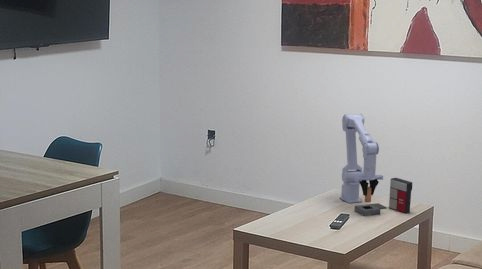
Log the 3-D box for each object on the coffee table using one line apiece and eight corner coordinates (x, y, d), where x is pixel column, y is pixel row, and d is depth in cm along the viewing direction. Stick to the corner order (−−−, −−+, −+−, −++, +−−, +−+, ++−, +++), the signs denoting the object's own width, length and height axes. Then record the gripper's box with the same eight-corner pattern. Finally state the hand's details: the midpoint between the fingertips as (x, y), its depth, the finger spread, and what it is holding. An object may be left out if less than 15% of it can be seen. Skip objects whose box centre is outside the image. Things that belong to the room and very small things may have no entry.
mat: (365, 205, 384) (365, 204, 383) (378, 204, 386) (378, 203, 386) (373, 209, 377) (373, 208, 377) (386, 208, 379) (386, 207, 379)
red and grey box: (387, 208, 380) (389, 178, 377) (393, 206, 382) (395, 177, 379) (404, 213, 371) (406, 183, 368) (410, 212, 374) (412, 182, 371)
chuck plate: (354, 210, 375) (354, 205, 374) (370, 209, 378) (370, 204, 377) (363, 216, 366) (364, 211, 366) (380, 214, 370) (380, 209, 369)
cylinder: (363, 201, 372) (364, 186, 370) (368, 200, 373) (369, 186, 372) (366, 202, 369) (367, 188, 368) (372, 202, 370) (372, 187, 369)
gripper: (360, 170, 361) (359, 198, 364) (387, 168, 367) (385, 195, 369) (352, 167, 368) (351, 194, 370) (379, 164, 373) (377, 192, 376)
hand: (368, 195), depth 370 cm, fingers closed on cylinder, 3 cm apart
